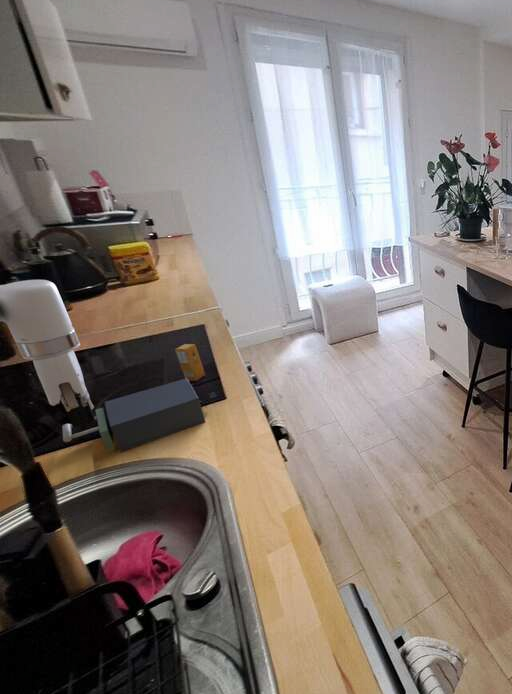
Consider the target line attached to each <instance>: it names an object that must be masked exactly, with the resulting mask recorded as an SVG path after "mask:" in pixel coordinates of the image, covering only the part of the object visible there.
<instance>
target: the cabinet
mask: <svg viewBox="0 0 512 694" xmlns="http://www.w3.org/2000/svg"><path fill="white" fill-rule="evenodd" d="M104 406H105V410H106V416H107V419H108V422H109V424H110V428H111V432H112V436H113V439H114V440H115V443H116V445H117V448H118V450H119V452H120V453H123V452H125V451H128V450H131V449H134V448H136V447H140V446H142V445H145V444H148V443H151V442H154V441H156V440H159V439H162V438H164V437H167V436H169V435H172V434H176V433H178V432H181V431H184V430H187V429H189V428H192V427H195V426H197V425H200V424H203V423H205V422H206V419H205V416H204V411H203V409H202V405H201V402H200V398H199V397H198V395H197V393H196V392H195V390H194V388H193V386H192V384H191V383H190V381H188V380H187V378H185V377H184V378H182V379H179V380H175V381H172V382H168V383H165V384H162V385H157V386H155V387H151V388H148V389H145V390H140V391H137V392H134V393H130V394H128V395H124V396H121V397H117V398H113V399H110V400H106V401H104Z"/></svg>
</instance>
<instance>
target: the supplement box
mask: <svg viewBox="0 0 512 694" xmlns="http://www.w3.org/2000/svg"><path fill="white" fill-rule="evenodd" d="M196 345H197V344H195V343H184V344H182V345H180V346H178V347H177V348H175V349H174V352H175V354H176V357H177V359H178V360H177V361H178V362H179V365H180V366H179V367H180V368H181V371H182V373H183V377H184V379H185V378H187V380H188V381H189V382H198V381H199V380H201V379H202V378H203V377H205V376H206V372H205V370H204V367H203V363H202V360H201V358H200V354H199V351H198V349H197V346H196Z"/></svg>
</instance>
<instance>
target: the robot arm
mask: <svg viewBox="0 0 512 694" xmlns="http://www.w3.org/2000/svg"><path fill="white" fill-rule="evenodd" d="M0 322H3V323H5V324H6V325H7V327H8V330H9V332H10V335H11V336H12V339H13V340H14V342H15V344H16V347H17V349H18V351H19V353H20V355H21V357H22V359H24V360H28V361H29V360H31V361H32V362H33V366H34V369H35V372H36V375H37V377H38V379H39V382H40V384H41V386H42V388H43V391H44V393H45V395H46V398H47V400H48V401H47V402H48V404H49V405H50V406H52V407H53V406H54V407H55V406H56V405H59V404H60V403H62V402H63V403H62V405H63V404H64V405H63V407H64V406H65V407H64V409H65V408H66V409H65V413H66V415H67V417H68V420H69V422H70V425H71V424H72V426H73V427H72V428H77V427H80V426H83V425H87V424H90V423H92V422H95V421H96V420H95V418H94V417H95V415H94V412H93V410H91V408H90V405H89V403H88V402H86V399H85V397H84V396H85V395H86V392H85V387H86V384H85V380H84V374H83V372H82V368H81V366H80V363H79V360H78V358H77V355H76V352H75V350H76V349H78V348H79V347H80V346H81V343H80V340H79V337H78V335H77V332H76V330H75V328H74V326H73V325H74V324H73V323H72V320H71V319H70V315H69V313H68V311H67V309H66V306H65V303H64V302H63V299H62V295H61V294H60V292H59V290H58V287H57V285H56V284H55V283H54V282H52V281H50V280H47V279H26V280H20V281H15V282H10V283H6V284H0ZM60 398H61V399H60ZM61 400H62V401H61ZM60 401H61V402H60ZM94 420H95V421H94Z"/></svg>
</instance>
